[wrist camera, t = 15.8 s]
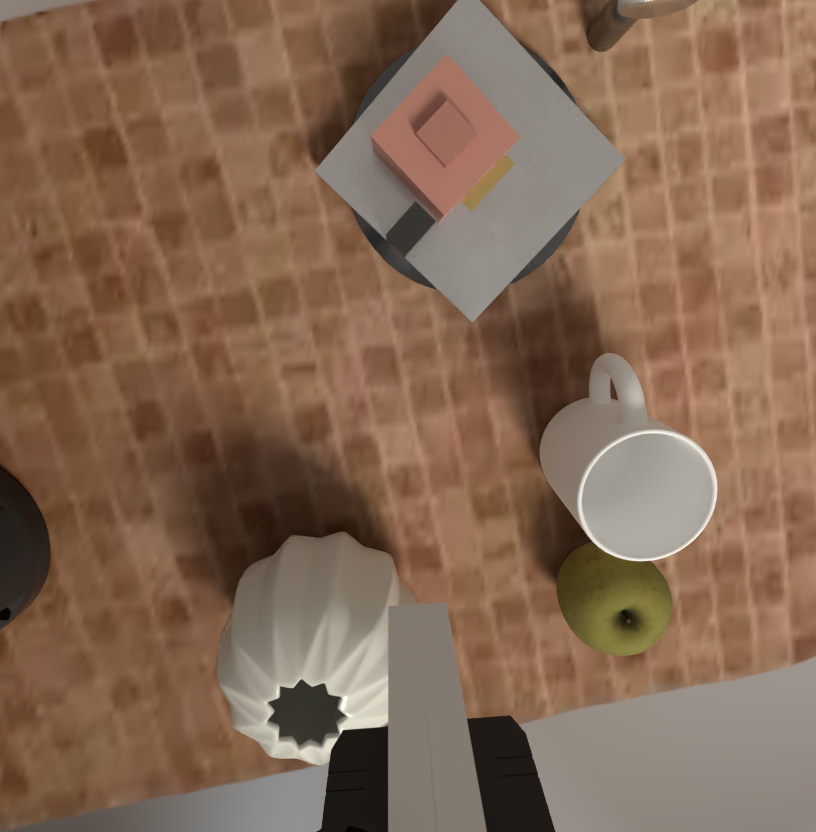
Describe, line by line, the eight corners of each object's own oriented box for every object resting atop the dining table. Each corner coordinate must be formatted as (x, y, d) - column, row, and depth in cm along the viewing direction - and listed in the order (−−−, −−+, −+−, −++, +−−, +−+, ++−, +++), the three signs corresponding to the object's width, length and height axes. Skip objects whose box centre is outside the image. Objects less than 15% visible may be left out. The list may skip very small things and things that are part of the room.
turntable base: (355, 297, 42) (353, 298, 41) (339, 44, 38) (338, 38, 37) (580, 287, 42) (585, 288, 41) (587, 34, 38) (592, 28, 37)
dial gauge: (571, 63, 38) (635, -16, 28) (572, 18, 38) (637, -80, 28) (632, 60, 39) (718, -19, 28) (634, 15, 38) (723, -83, 28)
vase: (450, 576, 47) (472, 691, 34) (349, 699, 49) (332, 851, 36) (307, 478, 45) (270, 561, 32) (208, 612, 47) (136, 740, 34)
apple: (599, 630, 48) (633, 690, 41) (524, 577, 47) (547, 629, 40) (662, 563, 47) (709, 612, 40) (587, 505, 46) (622, 546, 39)
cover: (439, 221, 38) (445, 214, 34) (373, 150, 37) (369, 132, 32) (507, 152, 37) (523, 133, 33) (441, 77, 36) (448, 47, 32)
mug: (530, 350, 43) (572, 372, 33) (644, 338, 43) (720, 356, 33) (539, 504, 46) (579, 568, 35) (646, 493, 45) (716, 554, 35)
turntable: (470, 321, 41) (483, 328, 35) (317, 174, 39) (302, 154, 32) (618, 163, 39) (659, 141, 33) (465, -4, 36) (479, -60, 30)
